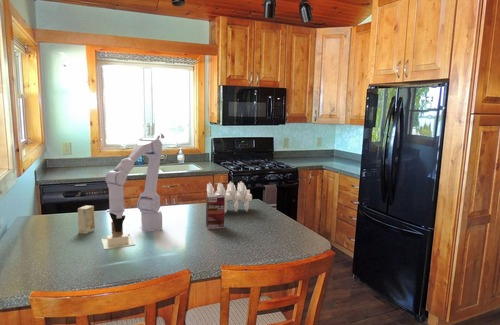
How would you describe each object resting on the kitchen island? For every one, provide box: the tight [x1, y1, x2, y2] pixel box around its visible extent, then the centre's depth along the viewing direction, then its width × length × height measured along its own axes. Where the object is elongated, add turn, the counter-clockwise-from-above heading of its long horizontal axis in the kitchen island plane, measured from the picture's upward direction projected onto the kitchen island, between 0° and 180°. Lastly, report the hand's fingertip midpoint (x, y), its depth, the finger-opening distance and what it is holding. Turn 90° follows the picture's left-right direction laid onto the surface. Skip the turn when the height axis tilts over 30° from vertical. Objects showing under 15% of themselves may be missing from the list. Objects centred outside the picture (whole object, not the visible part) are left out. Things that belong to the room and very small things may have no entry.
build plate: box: [100, 233, 136, 251], centre depth 153 cm, size 12×14×1 cm
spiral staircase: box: [206, 180, 253, 214], centre depth 202 cm, size 18×18×25 cm
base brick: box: [106, 232, 129, 246], centre depth 152 cm, size 8×4×3 cm, turn 118°
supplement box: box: [205, 195, 225, 230], centre depth 175 cm, size 9×5×16 cm, turn 107°
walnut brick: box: [110, 221, 124, 236], centre depth 151 cm, size 4×4×5 cm
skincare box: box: [77, 204, 96, 235], centre depth 165 cm, size 6×4×12 cm
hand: (117, 230), depth 151 cm, fingers closed on walnut brick, 4 cm apart
